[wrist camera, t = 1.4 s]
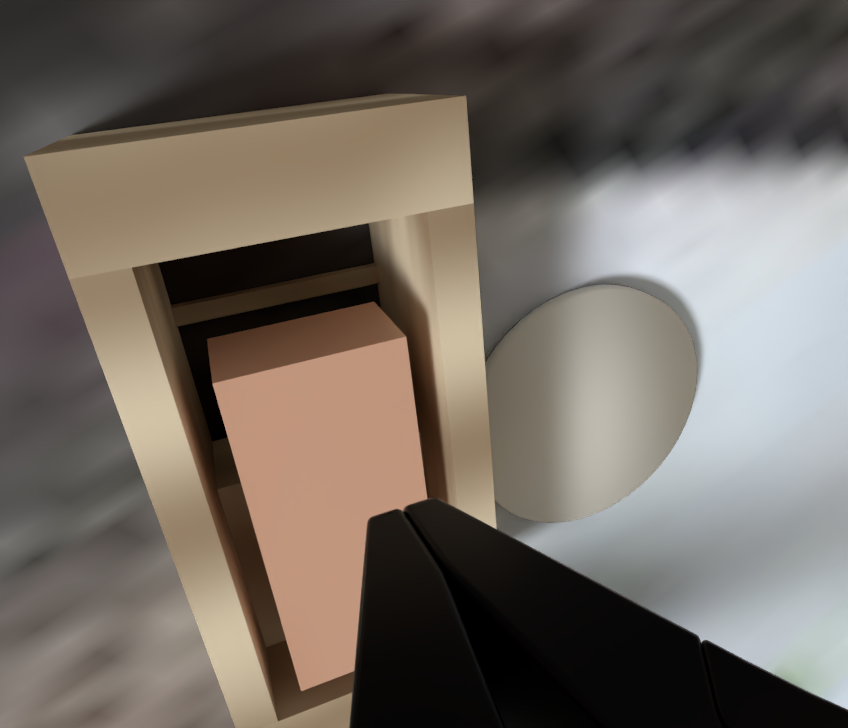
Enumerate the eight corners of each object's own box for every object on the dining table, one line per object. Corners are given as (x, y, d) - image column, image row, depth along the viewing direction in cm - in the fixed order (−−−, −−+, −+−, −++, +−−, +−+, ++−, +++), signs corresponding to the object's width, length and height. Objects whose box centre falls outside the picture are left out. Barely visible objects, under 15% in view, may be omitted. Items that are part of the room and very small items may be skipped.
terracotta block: (414, 575, 19) (445, 635, 17) (286, 620, 18) (301, 691, 16) (374, 301, 15) (406, 336, 13) (206, 339, 14) (212, 383, 12)
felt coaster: (676, 473, 25) (687, 481, 25) (474, 543, 23) (481, 553, 23) (695, 260, 22) (707, 264, 21) (454, 317, 19) (462, 324, 19)
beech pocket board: (446, 574, 23) (507, 685, 19) (241, 647, 21) (258, 789, 17) (388, 93, 16) (466, 95, 12) (70, 135, 14) (23, 156, 10)
